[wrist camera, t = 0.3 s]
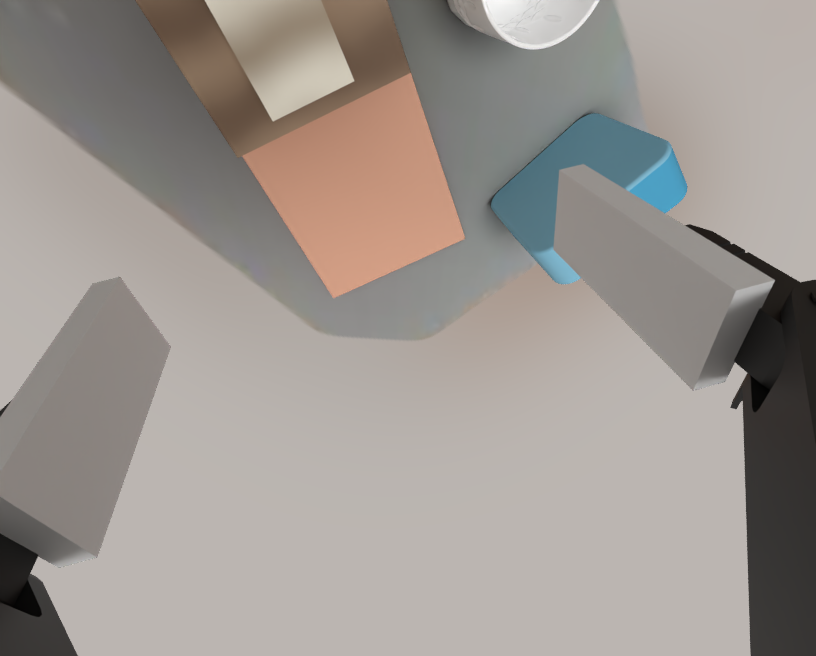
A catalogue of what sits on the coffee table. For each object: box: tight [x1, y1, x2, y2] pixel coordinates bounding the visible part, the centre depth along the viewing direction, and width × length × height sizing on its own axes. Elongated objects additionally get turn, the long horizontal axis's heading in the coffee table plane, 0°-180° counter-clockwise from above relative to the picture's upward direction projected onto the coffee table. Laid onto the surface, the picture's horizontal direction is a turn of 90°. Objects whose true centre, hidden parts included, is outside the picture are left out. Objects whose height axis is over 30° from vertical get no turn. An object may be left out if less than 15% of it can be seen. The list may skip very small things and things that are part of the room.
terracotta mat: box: [242, 73, 465, 298], centre depth 39 cm, size 16×15×1 cm
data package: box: [491, 113, 687, 284], centre depth 37 cm, size 12×4×12 cm, turn 133°
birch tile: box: [205, 0, 354, 121], centre depth 26 cm, size 9×6×2 cm, turn 22°
